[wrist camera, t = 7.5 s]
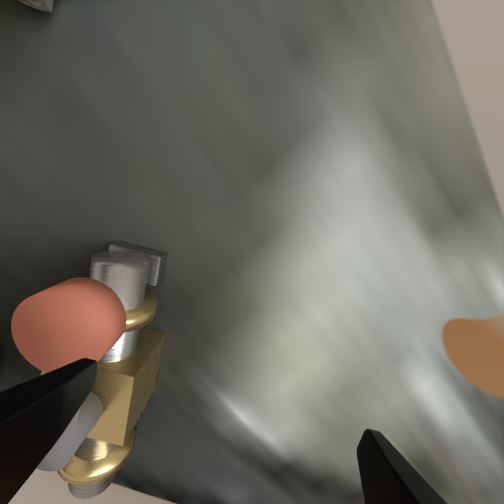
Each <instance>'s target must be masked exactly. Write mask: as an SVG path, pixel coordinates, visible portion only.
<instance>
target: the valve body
mask: <svg viewBox="0 0 504 504" xmlns="http://www.w3.org/2000/svg"><path fill="white" fill-rule="evenodd" d="M167 254H168V253H166V252H162V251H158V250H154V249H150V248H146V247H142V246H138V245H134V244H130V243H126V242H122V241H118V242H115V243H112V244H109V251H102V252H98V253H95V254H94V255H92V257H91V267H90V277H89V278H91V279H95V280H97V281H100V282H102V283H104V284H105V285H107V286H108V287H110V288H111V289H112V290H113V291H114V292H115V293H116V294H117V295H118V297H119V298H120V300H121V302H122V303H123V306H124V308H125V312H126V318H127V322H126V328H125V331H124V333H123V335H122V337H121V338H120V339H119V341H118V342H117V343H116V344H115V345H114V346H113V347H112V348H111V349H110V350H109V351H108V352H107V353H106V354H105V355H104V356H103V357H102V358H101V359H100V360H99V361H98V362H97V373H96V381H95V384H94V387H93V389H92V390H91V392H93V393H94V394H95V395H97V396H98V397H99V399H100V400H101V402H102V404H103V414H102V416H101V417H100V419H99V420H98V422H97V423H96V424H95V426H94V427H93V428H92V430H91V431H90V433H89V434H88V435H87V437H86V438H85V439H84V441H83V442H82V444H81V445H80V446H79V448H78V449H77V450H76V452H75V453H74V454H73V456H72V457H71V459H70V460H69V461H68V463H67V464H66V465H65V466H64V467H63V468H62V469H60V470H57V472H58V474H59V476H60V477H61V478H62V479H63V480H64V481H66V482H68V487H69V490H70V492H71V493H72V495H74V496H75V497H77V498H82V499H83V498H84V499H86V498H91V497H94V496H96V495H98V494H100V493H102V492H103V491H104V490H105V489H106V488H107V487H108V486H109V485H110V484H111V483H112V481H113V479H114V477H115V475H116V472H117V471H118V470H119V469H120V468H121V467H122V466H123V465H124V463H125V462H126V461H127V459H128V457H129V455H130V453H131V451H132V449H133V447H134V442H135V436H136V431H137V427H134V426H135V424H136V422H137V420H138V418H139V417H140V415H141V413H142V411H143V410H144V408H145V406H146V404H147V402H148V401H149V399H150V397H151V395H152V393H153V392H154V390H155V385H156V380H157V374H158V369H159V364H160V359H161V353H162V348H163V343H164V337H165V333H162V332H158V331H154V330H150V329H146V328H142V327H144V326H146V325H148V324H149V323H150V322H152V321H153V319H154V318H155V315H156V310H157V304H158V299H157V296H156V295H155V294H154V293H153V292H152V291H150V290H148V289H146V284H149V285H153V286H157V285H158V284H159V283H160V282H162V281H163V277H164V272H165V266H166V260H167Z"/></svg>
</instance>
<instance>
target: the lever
mask: <svg viewBox="0 0 504 504" xmlns="http://www.w3.org/2000/svg"><path fill="white" fill-rule="evenodd" d="M126 322H127V318H126V312H125V308H124V306H123V303H122V302H121V300H120V298H119V297H118V295H117V294H116V293H115V292H114V291H113V290H112V289H111V288H110V287H108V286H107V285H105V284H104V283H102V282H100V281H97V280H95V279H91V278H86V277H77V278H71V279H68V280H66V281H64V282H61V283H59V284H57V285H55V286H52V287H50V288H48V289H46V290H44V291H41V292H39V293H37V294H35V295H32V296H30V297H28V298H26V299H25V300H23V301H22V302H21V303H20V304H19V305H18V307H17V308H16V310H15V311H14V314H13V317H12V321H11V331H12V336H13V339H14V342H15V344H16V346H17V348H18V350H19V351H20V353H21V354H22V355H23V357H24V358H25V359H26V360H27V361H28V362H29V363H31V364H32V365H33V366H35V367H36V368H38V369H39V370H41V371H42V372H41V375H43V374H45V373H48V372H50V371H53V370H55V369H57V368H60V367H62V366H65V365H67V364H69V363H72V362H74V361H77V360H79V359H82V358H89V359H93V360H96V361H97V362H98V361H99V360H100V359H101V358H102V357H103V356H104V355H105V354H106V353H107V352H108V351H109V350H110V349H111V348H112V347H113V346H114V345H115V344H116V343H117V342H118V341H119V339H120V338H121V337H122V335H123V333H124V331H125V328H126ZM102 414H103V404H102V402H101V400H100V399H99V397H98V396H97V395H95V394H94V393H93V392H90V393H89V395H88V396H87V398H86V399H85V401H84V402H83V404H82V405H81V407H80V408H79V410H78V412H77V413H76V415H75V416H74V418H73V419H72V421H71V422H70V424H69V425H68V427H67V428H66V430H65V431H64V433H63V434H62V435H61V437H60V438H59V440H58V441H57V442H56V444H55V445H54V446H53V448H52V449H51V450H50V451H49V453H48V454H47V455H46V456H45V458H44V459H43V460H42V461H41V463H40V464H39V465H38V466H37V469H40V470H44V471H57V470H60V469H62V468H63V467H64V466H65V465H66V464H67V463H68V461H69V460H70V459H71V457H72V456H73V454H74V453H75V452H76V450H77V449H78V448H79V446H80V445H81V444H82V442H83V441H84V439H85V438H86V437H87V435H88V434H89V433H90V431H91V430H92V428H93V427H94V426H95V424H96V423H97V422H98V420H99V419H100V417H101V416H102Z"/></svg>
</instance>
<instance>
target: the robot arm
mask: <svg viewBox="0 0 504 504" xmlns="http://www.w3.org/2000/svg"><path fill="white" fill-rule="evenodd" d="M96 373H97V361H96V360H93V359H89V358H82V359H79V360H77V361H74V362H72V363H69V364H67V365H65V366H62V367H60V368H57V369H55V370H53V371H50V372H48V373H45V374H43V375H40V376H38V377H36V378H33V379H31V380H28V381H26V382H24V383H21V384H19V385H16V386H14V387H11V388H9V389H7V390H4V391H2V392H0V504H8V503H9V502H10V500H11V499H12V498H13V497H14V495H15V494H16V493H17V492H18V490H19V489H20V488H21V487H22V485H23V484H24V483H25V482H26V480H27V479H28V478H29V477H30V475H31V474H32V473H33V472H34V470H35V469H36V468H37V466H38V465H39V464H40V463H41V461H42V460H43V459H44V458H45V456H46V455H47V454H48V453H49V451H50V450H51V449H52V448H53V446H54V445H55V444H56V442H57V441H58V440H59V438H60V437H61V435H62V434H63V433H64V431H65V430H66V428H67V427H68V425H69V424H70V422H71V421H72V419H73V418H74V416H75V415H76V413H77V412H78V410H79V408H80V407H81V405H82V404H83V402H84V401H85V399H86V398H87V396H88V395H89V393H90V392H91V390H92V389H93V387H94V384H95V381H96ZM357 459H358V465H359V471H360V477H361V482H362V488H363V494H364V500H365V504H447V503H446V502H445V500H444V499H443V498H442V497H441V496H440V495H439V494H438V493H437V492H436V491H435V490H434V489H433V488H432V487H431V486H430V485H429V483H428V482H427V481H426V480H425V479H424V478H423V477H422V476H421V475H420V474H419V473H418V472H417V471H416V470H415V469H414V467H413V466H412V465H411V464H410V463H409V462H408V461H407V460H406V459H405V458H404V457H403V456H402V455H401V454H400V453H399V451H398V450H397V449H396V448H395V447H394V446H393V445H392V444H391V443H390V442H389V441H388V440H387V439H386V438H385V437H384V436H383V434H382V433H381V432H379V431H376V430H372V429H366V430H365V431H364V433H363V435H362V438H361V440H360V442H359V444H358V447H357Z"/></svg>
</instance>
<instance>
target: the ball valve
mask: <svg viewBox="0 0 504 504" xmlns="http://www.w3.org/2000/svg"><path fill="white" fill-rule="evenodd" d="M18 1H20V2H22V3H24V4H26V5H29V6H31V7H33V8H36V9H38V10H42V11H50V12H52V7H53V0H18Z"/></svg>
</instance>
